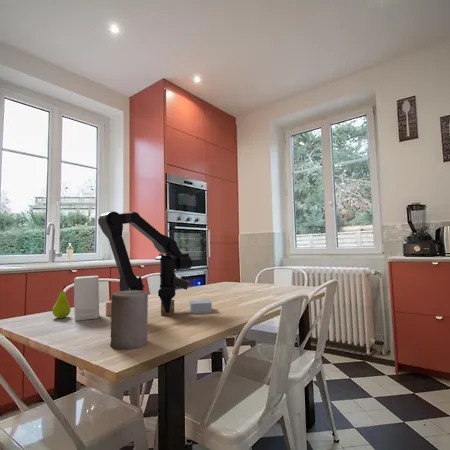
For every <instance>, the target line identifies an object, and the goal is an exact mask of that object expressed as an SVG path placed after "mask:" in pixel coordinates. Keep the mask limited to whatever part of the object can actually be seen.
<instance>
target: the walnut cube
mask: <svg viewBox="0 0 450 450" xmlns="http://www.w3.org/2000/svg"><path fill="white" fill-rule="evenodd" d="M160 316H162V317H163V316H175V299H171V304H170V310H169V313H166V311H165V309H164V306H163V304H162V302H161V301H160Z"/></svg>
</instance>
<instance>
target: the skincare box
mask: <svg viewBox="0 0 450 450" xmlns="http://www.w3.org/2000/svg"><path fill="white" fill-rule="evenodd" d="M99 281H100V280H99V275H89V276H76V277H75V278H73V291H74V292H73V293H74V296H73V297H74V304H73V305H74V306H73V307H74V321H75V322H76V321H77V322H78V321H83V320H85V321H86V320H95V319H96V320H97V319H99V317H100V289H99V286H100V284H99V283H100V282H99Z"/></svg>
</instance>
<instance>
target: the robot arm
mask: <svg viewBox="0 0 450 450" xmlns="http://www.w3.org/2000/svg"><path fill="white" fill-rule="evenodd" d="M97 222H98V226H99V228H100V229H101V232H102V233H103V234H104V235H105V237H106V238H107V240H108V242H109V246H110V249H111V251H112V255H113V258H114V261H115V264H116V268H117V271H118V274H119V284H118V285H119V291H129V288H130V291H132V290H137V291H145V290H144V288H145V285H144V283H143V279H142V277H141V276H138V275H136V274H135V272H134V270H133V267H132V264H131V260H130V256H129V254H128V251H127V247H126V244H125V240H124V238H123V231H124V225H125V224H130V226H132V227H133V228H135V229H136V230H137V231H138V232H139V233H141V235H144V236H145V238H146V239H148V240H150V242H151V243H152V245H153V247H154V248H155V249H156V250H157V251H158V253H159V254H158V255H157V256H156V257H155V258H154V260H155V261H159V264H160V265H159V272H160V274H159V277H160V278H159V279H160V280H159V281H160V282H159V283H160V284H159V289H158V291H157V292H158V293H157V294H158V295H157V296H158V298H159V299H160V303H161V302H162V304H163V306H164V309H165V311H166V313H169V310H170V304H171V300H173V299H174V297H175V296H176V291H177V287H178V288H180V289H181V288H182V289H183V290H188V288H189V284H190V281H189V280H188V279H187V277H186V276H183V275H182V276H181V277H178V276H177V274H176V271H186V270H188V271H189V270H190V269H192V267H193V260H192V258H191V257H190V253H188V252H186V253H182V251H181V250H180V247H178V243H177V241H176V240H175V239H173V238H171V237H170V236H168V235H165V234H162V233H161V232H159V230H158V229H156V228H155V227H154V226H153V225H152V224H150V223H149V222H148V221H147V220H145V219H144V218H143V217H142V216H141V215H140V214H139V212H137V211H132V212H123V213H119V212H117V211H108V212H103V213H102V214H100V215H99V218H98V219H97Z"/></svg>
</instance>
